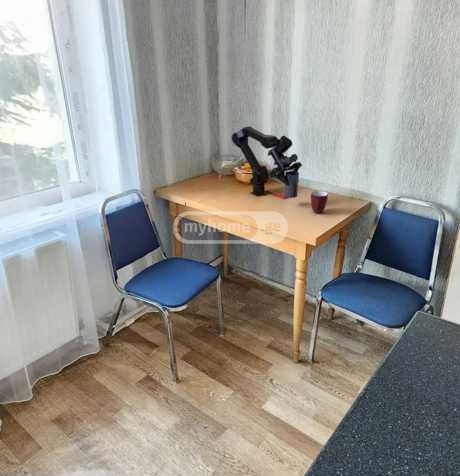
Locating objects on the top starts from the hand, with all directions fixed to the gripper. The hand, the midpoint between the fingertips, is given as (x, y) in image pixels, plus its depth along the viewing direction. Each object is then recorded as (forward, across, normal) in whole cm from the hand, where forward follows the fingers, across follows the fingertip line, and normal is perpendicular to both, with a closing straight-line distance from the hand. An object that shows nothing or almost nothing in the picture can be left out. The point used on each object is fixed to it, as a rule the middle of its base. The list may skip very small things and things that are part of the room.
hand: (293, 183), depth 200 cm
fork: (-4, +7, +22) cm, 23 cm away
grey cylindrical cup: (+4, 0, +6) cm, 7 cm away
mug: (+19, +4, -1) cm, 19 cm away
